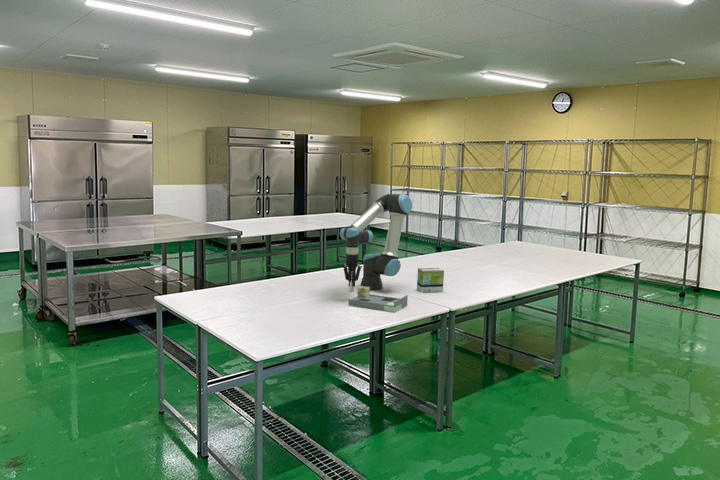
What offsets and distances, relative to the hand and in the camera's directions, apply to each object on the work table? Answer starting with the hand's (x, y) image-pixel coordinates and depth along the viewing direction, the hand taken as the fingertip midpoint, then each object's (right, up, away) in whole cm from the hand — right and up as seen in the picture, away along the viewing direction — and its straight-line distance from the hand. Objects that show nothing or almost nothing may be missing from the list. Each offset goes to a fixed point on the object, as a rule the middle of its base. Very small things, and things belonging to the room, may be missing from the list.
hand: (351, 291), depth 343 cm
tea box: (+52, -2, +28) cm, 59 cm away
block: (+7, -3, -3) cm, 8 cm away
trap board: (+16, -7, -12) cm, 21 cm away
